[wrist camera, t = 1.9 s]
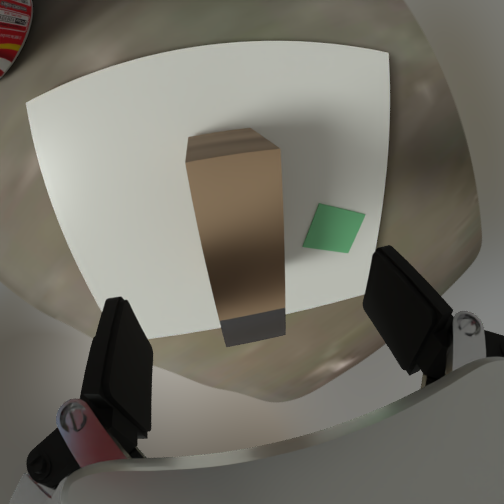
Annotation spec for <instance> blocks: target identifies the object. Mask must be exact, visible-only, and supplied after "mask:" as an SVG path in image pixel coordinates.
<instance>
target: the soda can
mask: <svg viewBox="0 0 504 504" xmlns="http://www.w3.org/2000/svg"><path fill="white" fill-rule="evenodd" d="M32 17H33V3H32V0H0V78H1V77H2V76H3V75H4V74H5V73H6V72H7V71H8V69H9V68H10V67H11V65H12V64H13V63H14V61H15V59H16V58H17V56H18V55H19V53H20V51H21V49H22V48H23V46H24V44H25V41H26V39H27V36H28V33H29V30H30V26H31V22H32Z"/></svg>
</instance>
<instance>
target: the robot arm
mask: <svg viewBox="0 0 504 504" xmlns="http://www.w3.org/2000/svg"><path fill="white" fill-rule="evenodd" d="M363 308H364V310H365V312H366V314H367V315H368V316H369V318H370V319H371V321H372V322H373V324H374V326H375V327H376V329H377V330H378V332H379V333H380V335H381V336H382V338H383V339H384V341H385V342H386V344H387V346H388V347H389V349H390V350H391V352H392V353H393V355H394V357H395V358H396V360H397V361H398V363H399V365H400V366H401V368H402V369H403V370H406V371H407V373H408V374H409V375H411V374H413V373H416V372H418V371H419V370H420V369H421V371H422V372H423V377H422V384H421V389H420V390H418V391H416V392H414V393H412V394H410V395H408V396H406V397H404V398H402V399H400V400H398V401H396V402H393V403H391V404H389V405H387V406H384V407H382V408H380V409H378V410H375V411H373V412H370V413H368V414H365V415H363V416H360V417H358V418H355V419H353V420H350V421H347V422H344V423H342V424H339V425H336V426H333V427H330V428H327V429H324V430H320V431H317V432H314V433H311V434H307V435H304V436H300V437H296V438H292V439H289V440H285V441H281V442H276V443H272V444H267V445H262V446H258V447H252V448H247V449H241V450H235V451H228V452H221V453H213V454H204V455H195V456H194V455H193V456H183V457H166V458H146V456H145V455H144V454H143V453H142V452H141V451H140V450H139V449H138V447H137V439H144V438H147V432H148V431H150V430H151V393H152V392H151V391H152V366H153V350H152V347H151V344H150V343H149V341H148V339H147V337H146V335H145V333H144V331H143V330H142V328H141V326H140V324H139V322H138V320H137V318H136V316H135V314H134V312H133V310H132V308H131V306H130V303H129V302H128V300H124V299H123V298H122V297H114V298H108V299H106V301H105V304H104V307H103V311H102V314H101V318H100V321H99V325H98V329H97V332H96V336H95V337H94V338H93V341H92V345H91V348H90V352H89V357H88V361H87V365H86V370H85V375H84V380H83V385H82V390H81V395H80V399H70V400H68V401H66V402H65V403H64V404H63V405H62V406H61V407H60V408H59V410H58V413H57V416H56V423H57V426H58V428H56V429H55V430H54V431H53V432H52V433H51V434H50V435H49V436H47V437H46V438H45V439H44V440H43V441H42V442H41V443H40V444H38V445H37V446H36V447H35V448H34V449H33V450H32V451H31V452H30V453H29V455H28V458H27V470H28V474H26V473H24V475H23V477H22V478H21V480H20V482H19V484H18V486H17V488H16V489H15V491H14V493H13V495H12V497H11V499H10V501H9V504H504V336H503V335H499V334H496V333H493V332H489V331H485V330H484V327H483V324H482V322H481V320H480V319H479V318H478V317H477V316H476V315H474V314H473V313H471V312H468V311H460V312H458V313H456V314H455V316H454V317H453V316H452V315H451V314H452V312H453V309H452V308H451V307H450V306H449V305H448V304H447V303H446V302H445V300H444V299H443V298H442V297H441V296H440V295H439V294H438V293H437V292H436V290H435V289H434V288H433V287H432V286H431V285H430V284H429V283H428V282H427V281H426V280H425V279H424V278H423V277H422V276H421V275H420V274H419V273H418V272H417V271H416V270H415V268H414V267H413V266H412V265H411V264H410V263H409V262H408V261H407V260H406V259H405V258H403V257H402V256H401V255H400V254H399V253H398V252H397V251H396V250H395V249H394V248H393V247H392V246H390V245H388V246H384V247H379V248H377V249H376V251H375V252H374V253H373V255H372V260H371V266H370V271H369V276H368V281H367V286H366V290H365V295H364V300H363Z"/></svg>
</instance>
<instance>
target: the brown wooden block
mask: <svg viewBox="0 0 504 504" xmlns="http://www.w3.org/2000/svg"><path fill="white" fill-rule="evenodd" d="M185 165H186V170H187V176H188V181H189V187H190V192H191V197H192V202H193V207H194V212H195V217H196V222H197V227H198V231H199V236H200V241H201V245H202V250H203V254H204V259H205V263H206V268H207V272H208V276H209V281H210V285H211V289H212V293H213V297H214V301H215V305H216V309H217V313H218V317H219V321H220V325H221V329H222V333H223V337H224V340H225V344H226V347H230V346H235V345H240V344H245V343H250V342H255V341H260V340H264V339H269V338H274V337H278V336H282V335H285V331H286V322H285V247H284V214H283V189H282V168H281V149H280V148H279V147H277V146H276V145H275V144H273V143H272V142H270V141H269V140H268V139H266V138H265V137H263V136H262V135H260V134H259V133H257V132H256V131H254V130H253V129H252V128H244V129H236V130H229V131H222V132H215V133H208V134H202V135H197V136H191V137H188V143H187V151H186V159H185Z"/></svg>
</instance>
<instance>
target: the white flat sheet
mask: <svg viewBox="0 0 504 504" xmlns="http://www.w3.org/2000/svg"><path fill="white" fill-rule="evenodd" d="M26 106H27V112H28V118H29V123H30V128H31V133H32V137H33V141H34V146H35V150H36V154H37V157H38V161H39V165H40V168H41V172H42V175H43V178H44V182H45V185H46V188H47V191H48V194H49V197H50V200H51V203H52V205H53V208H54V211H55V214H56V216H57V219H58V221H59V224H60V226H61V229H62V231H63V234H64V236H65V239H66V241H67V243H68V246H69V248H70V250H71V252H72V255H73V257H74V259H75V261H76V263H77V265H78V267H79V269H80V271H81V273H82V275H83V277H84V279H85V281H86V283H87V285H88V287H89V289H90V291H91V293H92V295H93V297H94V298H95V300H96V302H97V304H98V306H99V307H100V309H101V311H103V307H104V304H105V301H106V299H108V298H114V297H122V298H123V299H124V300H128V302H129V303H130V306H131V308H132V310H133V312H134V314H135V316H136V318H137V320H138V322H139V324H140V326H141V328H142V330H143V331H144V333H145V335H146V337H147V339H152V338H159V337H166V336H173V335H180V334H186V333H192V332H198V331H204V330H210V329H216V328H221V325H220V321H219V317H218V313H217V309H216V305H215V301H214V297H213V293H212V289H211V285H210V281H209V276H208V272H207V268H206V263H205V259H204V254H203V250H202V245H201V241H200V236H199V231H198V227H197V222H196V217H195V212H194V207H193V202H192V197H191V192H190V187H189V181H188V176H187V170H186V165H185V159H186V151H187V143H188V137H191V136H197V135H202V134H208V133H215V132H222V131H229V130H236V129H244V128H252V129H253V130H254V131H256V132H257V133H259V134H260V135H262V136H263V137H265V138H266V139H268V140H269V141H270V142H272V143H273V144H275V145H276V146H277V147H279V148H280V149H281V168H282V189H283V214H284V247H285V314H289V313H293V312H298V311H302V310H306V309H310V308H314V307H318V306H322V305H326V304H330V303H334V302H338V301H341V300H345V299H349V298H352V297H356V296H360V295H363V294H365V290H366V286H367V281H368V276H369V271H370V266H371V260H372V255H373V253H374V252H375V249H376V243H377V238H378V232H379V226H380V219H381V213H382V206H383V198H384V190H385V181H386V171H387V159H388V145H389V125H390V72H389V53H387V52H382V51H377V50H372V49H366V48H360V47H353V46H346V45H338V44H329V43H318V42H302V41H250V42H234V43H222V44H213V45H205V46H198V47H191V48H185V49H179V50H174V51H169V52H164V53H159V54H155V55H151V56H146V57H142V58H139V59H135V60H131V61H128V62H124V63H121V64H117V65H114V66H111V67H108V68H105V69H102V70H99V71H96V72H94V73H91V74H88V75H86V76H83V77H80V78H78V79H75V80H73V81H71V82H68V83H66V84H64V85H61V86H59V87H57V88H55V89H53V90H50V91H48V92H46V93H44V94H42V95H40V96H38V97H36V98H34V99H32V100H31V101H29V102H27V103H26Z"/></svg>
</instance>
